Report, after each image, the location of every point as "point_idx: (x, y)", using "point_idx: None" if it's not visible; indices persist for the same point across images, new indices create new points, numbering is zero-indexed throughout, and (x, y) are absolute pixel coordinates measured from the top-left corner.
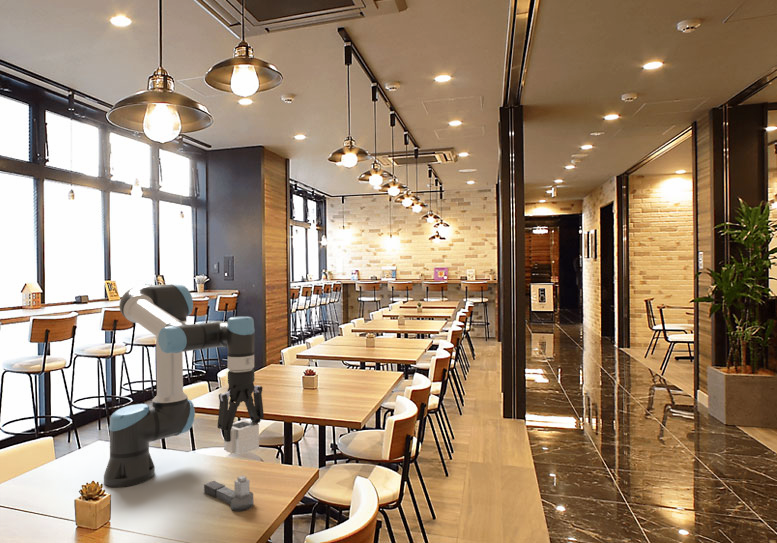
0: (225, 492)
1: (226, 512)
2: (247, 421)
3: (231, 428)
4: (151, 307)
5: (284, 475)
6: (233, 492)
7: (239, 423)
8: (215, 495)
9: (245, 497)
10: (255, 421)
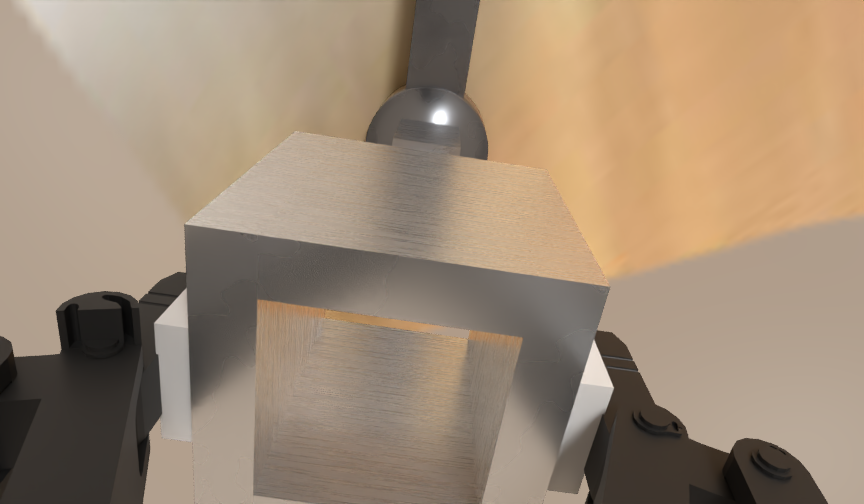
0: (431, 1)
1: (349, 110)
2: (558, 385)
3: (149, 450)
4: None
5: (861, 64)
6: (453, 50)
7: (446, 320)
8: None
9: None
10: (589, 494)
